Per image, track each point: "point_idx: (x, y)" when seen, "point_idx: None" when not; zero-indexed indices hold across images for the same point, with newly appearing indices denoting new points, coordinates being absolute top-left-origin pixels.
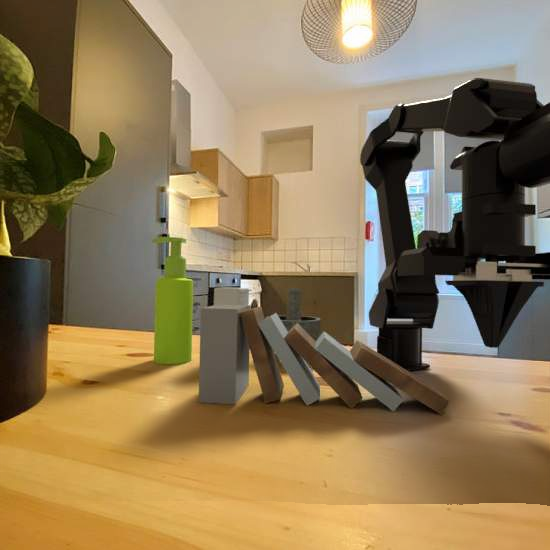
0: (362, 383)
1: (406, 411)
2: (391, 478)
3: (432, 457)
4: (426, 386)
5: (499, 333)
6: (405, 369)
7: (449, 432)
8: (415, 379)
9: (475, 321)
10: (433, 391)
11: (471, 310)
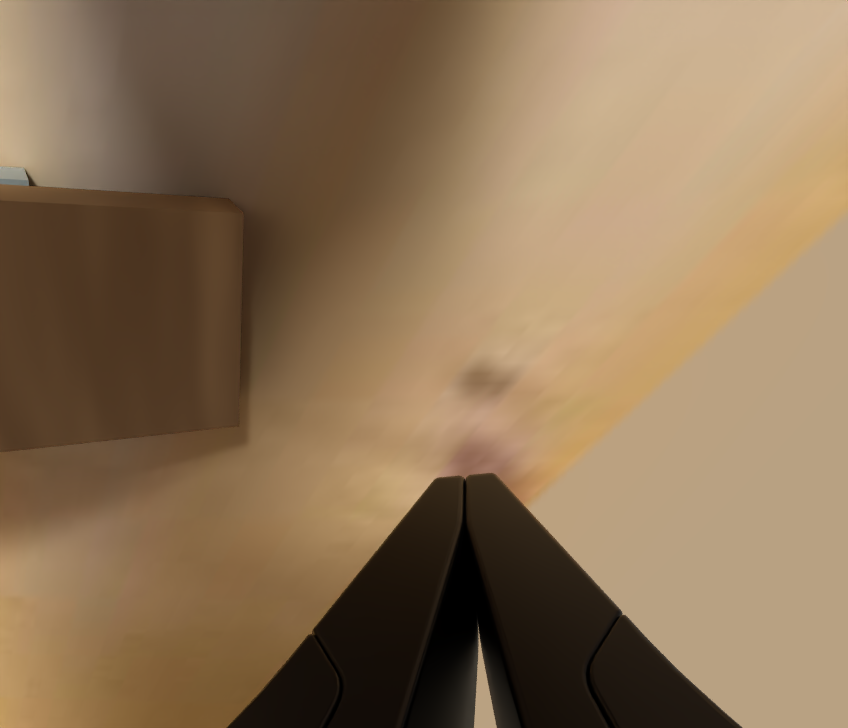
0: None
1: None
2: (7, 694)
3: (107, 635)
4: (120, 425)
5: (481, 646)
6: (34, 205)
7: (199, 523)
8: (57, 415)
9: (347, 590)
10: (155, 433)
11: (278, 679)
